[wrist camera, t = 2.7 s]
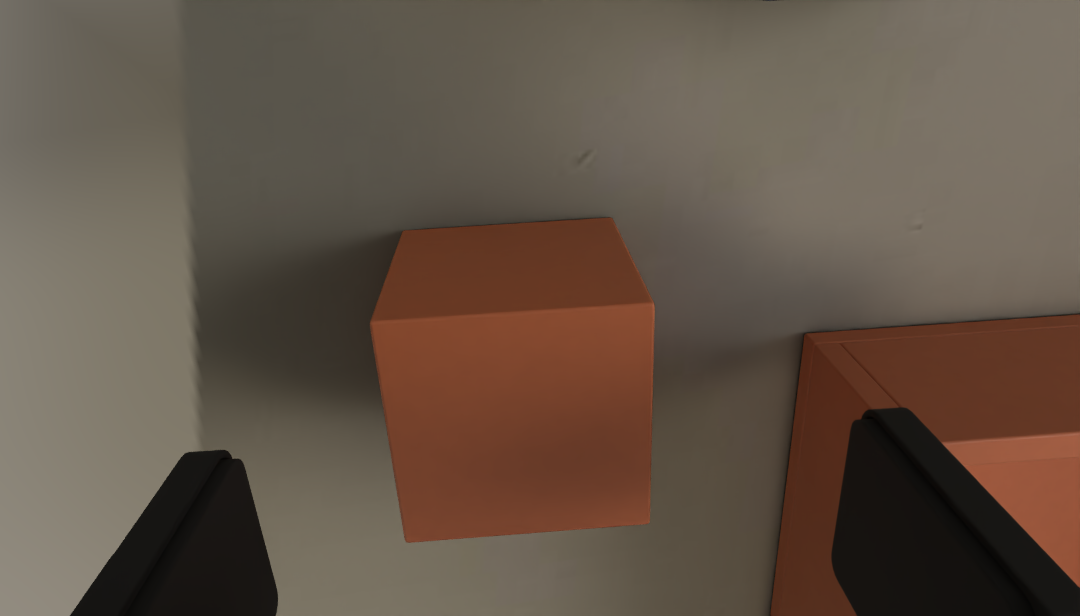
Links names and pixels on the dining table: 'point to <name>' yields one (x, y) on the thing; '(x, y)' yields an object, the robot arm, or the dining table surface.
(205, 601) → the robot arm
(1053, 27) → the dining table surface
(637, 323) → the terracotta block
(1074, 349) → the terracotta bin
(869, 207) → the dining table surface
